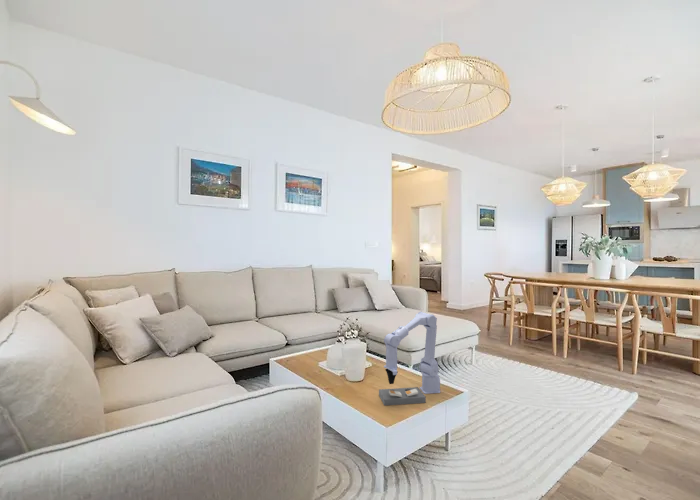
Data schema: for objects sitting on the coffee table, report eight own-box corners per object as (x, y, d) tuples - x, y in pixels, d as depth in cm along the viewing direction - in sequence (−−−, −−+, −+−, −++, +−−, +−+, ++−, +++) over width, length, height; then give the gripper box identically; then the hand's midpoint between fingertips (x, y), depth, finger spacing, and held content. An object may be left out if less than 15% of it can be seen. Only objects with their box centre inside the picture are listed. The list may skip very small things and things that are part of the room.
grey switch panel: (417, 392, 187) (417, 386, 187) (425, 402, 175) (425, 396, 175) (378, 394, 184) (378, 389, 184) (384, 405, 172) (384, 399, 172)
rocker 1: (399, 393, 178) (400, 391, 178) (401, 396, 175) (402, 394, 175) (388, 392, 177) (389, 390, 177) (390, 395, 174) (390, 393, 174)
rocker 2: (416, 390, 180) (415, 388, 180) (418, 393, 176) (417, 391, 176) (405, 393, 179) (404, 391, 179) (407, 396, 175) (407, 394, 175)
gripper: (380, 353, 183) (380, 378, 183) (387, 362, 168) (387, 389, 169) (393, 352, 184) (393, 377, 184) (401, 362, 169) (401, 389, 170)
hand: (391, 383), depth 176 cm, fingers closed
